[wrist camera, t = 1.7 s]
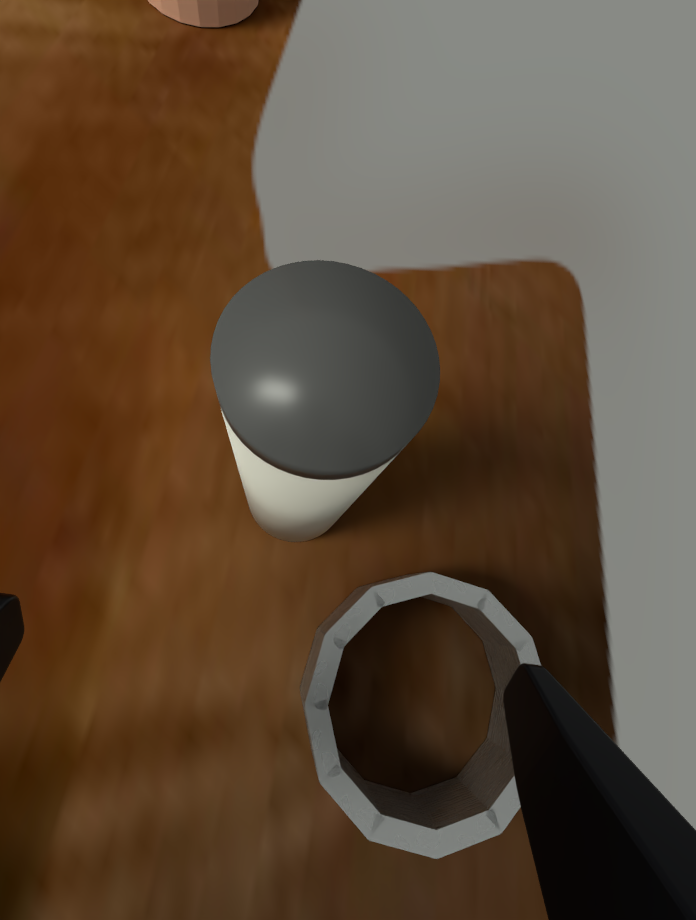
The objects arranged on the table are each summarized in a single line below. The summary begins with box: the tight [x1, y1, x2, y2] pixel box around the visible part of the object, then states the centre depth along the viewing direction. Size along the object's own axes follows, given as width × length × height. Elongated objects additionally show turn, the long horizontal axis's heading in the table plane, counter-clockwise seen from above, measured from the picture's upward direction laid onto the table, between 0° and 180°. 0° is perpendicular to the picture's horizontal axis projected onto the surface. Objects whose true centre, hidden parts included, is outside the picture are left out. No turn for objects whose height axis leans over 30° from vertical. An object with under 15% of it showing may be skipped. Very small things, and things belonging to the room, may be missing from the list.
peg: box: [210, 260, 440, 542], centre depth 15 cm, size 4×4×13 cm
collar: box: [300, 572, 541, 859], centre depth 18 cm, size 9×9×3 cm
